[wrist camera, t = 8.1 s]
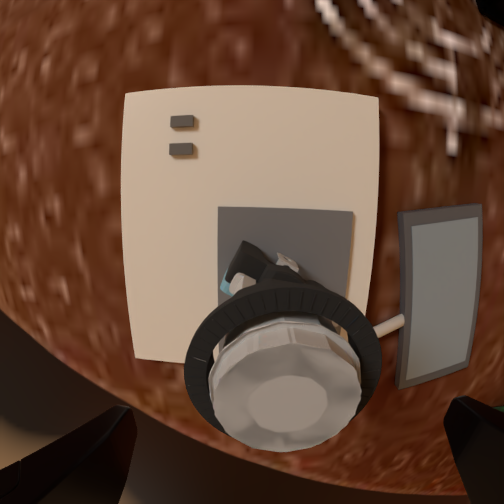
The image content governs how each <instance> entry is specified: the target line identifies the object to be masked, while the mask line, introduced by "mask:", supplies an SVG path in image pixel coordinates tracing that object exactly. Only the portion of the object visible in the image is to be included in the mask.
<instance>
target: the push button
mask: <svg viewBox="0 0 504 504" xmlns="http://www.w3.org/2000/svg"><path fill="white" fill-rule="evenodd" d="M277 257H278V261H277V263H276V264H274V263H272V262H270V261H268V260H266V259H265V257H264V255H263V254H262V252H261V250H260V249H259V248H258V247H257V246H255V245H253V244H251V243H249V242H247V241H244V240H243V241H242V242H241V244H240V246H239V248H238V250H237V252H236V254H235V256H234V258H233V259H232V261H231V263H230V265H229V267H228V269H227V271H226V273H225V275H224V277H223V280H222V283H221V286H220V289H221V290H222V291H223V292H224V293H226V294H228V295H230V296H232V297H231V298H230V299H228V300H226V301H225V302H223V303H222V304H221V305H219V306H218V307H217V308H215V309H214V310H213V311H212V312H211V313H210V314H209V315H208V316H207V317H206V318H205V319H204V320H203V322H202V323H201V324H200V326H199V327H198V329H197V330H196V332H195V334H194V336H193V338H192V340H191V343H190V345H189V348H188V350H187V353H186V358H185V363H184V379H185V385H186V389H187V392H188V395H189V397H190V399H191V401H192V403H193V405H194V406H195V408H196V409H197V410H198V412H199V413H200V414H201V415H202V417H203V418H204V419H205V420H206V421H207V422H209V423H210V424H211V425H212V426H214V427H215V428H216V429H218V430H219V431H221V432H223V433H225V434H226V435H228V436H230V437H233V438H235V439H237V440H239V441H241V442H242V443H244V444H246V445H248V446H250V447H252V448H256V449H262V450H269V451H276V452H289V451H293V450H299V449H305V448H311V447H313V446H315V445H318V444H321V443H322V442H324V441H325V440H327V439H329V438H331V437H333V436H334V435H336V434H337V433H338V432H339V431H340V430H341V429H342V428H344V427H345V426H346V425H347V424H348V422H350V421H351V420H352V419H353V418H354V417H355V416H356V415H357V414H358V413H359V412H360V411H361V410H362V409H363V408H364V407H365V405H366V404H367V403H368V401H369V400H370V398H371V397H372V395H373V393H374V391H375V389H376V387H377V384H378V381H379V378H380V374H381V367H382V353H381V346H380V343H379V339H378V337H377V334H376V332H375V330H374V328H373V327H372V325H371V323H370V322H369V321H368V319H367V318H366V317H365V316H364V314H363V313H362V312H361V311H360V310H359V309H358V308H357V307H356V306H355V305H354V304H353V303H351V302H350V301H349V300H347V299H346V298H344V297H343V296H341V295H339V294H337V293H335V292H333V291H330V290H328V289H327V288H325V287H324V286H323V285H321V284H320V283H318V282H316V281H314V280H305V279H303V278H302V277H301V276H300V275H299V274H298V273H297V272H298V270H299V268H298V266H297V264H296V262H295V261H293V260H292V259H290V258H288V257H286V256H284V255H282V254H280V253H278V252H277ZM286 259H287V260H286ZM339 325H340V326H341V327H342V328H343V329H344V330H346V331H347V336H348V341H346V340H345V339H344V338H343V337H342V336H340V335H338V333H337V331H336V329H335V327H337V326H339ZM334 326H335V327H334ZM224 336H225V340H224V345H223V350H222V351H221V352H220V353H219V355H218V357H217V359H216V361H214V357H213V350H214V348H215V347H216V345H217V344H218V343H219V341H220V340H221V339H222V338H223V337H224Z"/></svg>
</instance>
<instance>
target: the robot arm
mask: <svg viewBox="0 0 504 504" xmlns="http://www.w3.org/2000/svg"><path fill="white" fill-rule="evenodd" d="M476 2H477V5H478V8H479V10H480V12H481V13H482V14H483V15H485V16H487V17H489V18H491V19H493V20H494V21H496V22H498V23H500V24H501V25H503V26H504V0H476ZM443 423H444V428H445V431H446V434H447V437H448V440H449V444H450V447H451V450H452V454H453V457H454V460H455V463H456V466H457V469H458V471H459V474H460V476H461V479H462V481H463V484H464V487H465V489H466V492H467V494H468V497H469V500H470V503H471V504H504V412H502V411H499V410H497V409H495V408H493V407H490V406H488V405H486V404H484V403H481V402H479V401H477V400H475V399H472V398H470V397H468V396H465V395H464V396H459V397H456V398H454V399H453V400H452V401H451V404H450V406H449V408H448V410H447V413H446V415H445V417H444V422H443ZM136 438H137V426H136V422H135V419H134V415H133V411H132V409H131V408H130V407H127V406H122V405H115V406H113V407H111V408H110V409H108V410H106V411H105V412H103V413H102V414H100V415H98V416H97V417H95V418H93V419H92V420H90V421H88V422H87V423H85V424H83V425H81V426H80V427H78V428H76V429H75V430H73V431H71V432H69V433H68V434H66V435H64V436H62V437H61V438H59V439H57V440H55V441H54V442H52V443H50V444H48V445H47V446H45V447H43V448H41V449H39V450H38V451H36V452H34V453H32V454H30V455H28V456H26V457H24V458H23V459H21V461H17V462H15V463H13V464H11V465H9V466H7V467H5V468H3V469H1V470H0V504H118V503H119V500H120V498H121V495H122V492H123V489H124V487H125V483H126V481H127V477H128V473H129V468H130V464H131V459H132V455H133V451H134V446H135V442H136Z"/></svg>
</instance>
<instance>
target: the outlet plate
mask: <svg viewBox="0 0 504 504" xmlns="http://www.w3.org/2000/svg"><path fill="white" fill-rule="evenodd" d="M378 183H379V104H378V97H372V96H366V95H359V94H353V93H345V92H338V91H329V90H319V89H309V88H296V87H279V86H199V87H182V88H170V89H159V90H149V91H141V92H133V93H126V94H125V104H124V117H123V133H122V156H121V217H122V241H123V257H124V270H125V282H126V292H127V301H128V310H129V318H130V325H131V333H132V339H133V346H134V352H135V358H141V359H149V360H157V361H166V362H176V363H185V358H186V353H187V350H188V348H189V345H190V343H191V340H192V338H193V336H194V334H195V332H196V330H197V329H198V327H199V326H200V324H201V323H202V322H203V320H204V319H205V318H206V317H207V316H208V315H209V314H210V313H211V312H212V311H213V310H214V309H215V308H217V307H218V306H219V305H221V304H222V303H223V302H225V301H226V300H228V299H230V298H231V297H232V296H230V295H228V294H226V293H224V292H223V291H222V290H221V289H220V286H221V283H222V280H223V277H224V275H225V273H226V271H227V269H228V267H229V265H230V263H231V261H232V259H233V258H234V256H235V254H236V252H237V250H238V248H239V246H240V244H241V242H242V241H243V240H244V241H247V242H249V243H251V244H253V245H255V246H257V247H258V248H259V249H260V250H261V252H262V254H263V255H264V257H265V259H266V260H268V261H270V262H272V263H274V264H276V263H277V261H278V257H277V252H278V253H280V254H282V255H284V256H286V257H288V258H290V259H292V260H293V261H295V262H296V264H297V266H298V268H299V270H298V272H297V273H298V274H299V275H300V276H301V277H302V278H303V279H305V280H314V281H316V282H318V283H320V284H321V285H323V286H324V287H325V288H327V289H328V290H330V291H333V292H335V293H337V294H339V295H341V296H343V297H344V298H346V299H347V300H349V301H350V302H351V303H353V304H354V305H355V306H356V307H357V308H358V309H359V310H360V311H361V312H362V313H363V314H364V316H365V313H366V307H367V300H368V293H369V286H370V279H371V271H372V262H373V253H374V243H375V231H376V219H377V203H378ZM286 260H287V259H286ZM334 327H335V326H334ZM335 329H336V331H337V333H338V335H340V336H342V337H343V338H344V339H345V340H346V341H348V336H347V331H346V330H344V329H343V328H342V327H341V326H340V325H339V326H337V327H335ZM224 340H225V336H224V337H223V338H222V339H221V340H220V341H219V343H218V344H217V345H216V347H215V348H214V350H213V357H214V361H216V359H217V357H218V355H219V353H220V352H221V351H222V350H223V345H224Z"/></svg>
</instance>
